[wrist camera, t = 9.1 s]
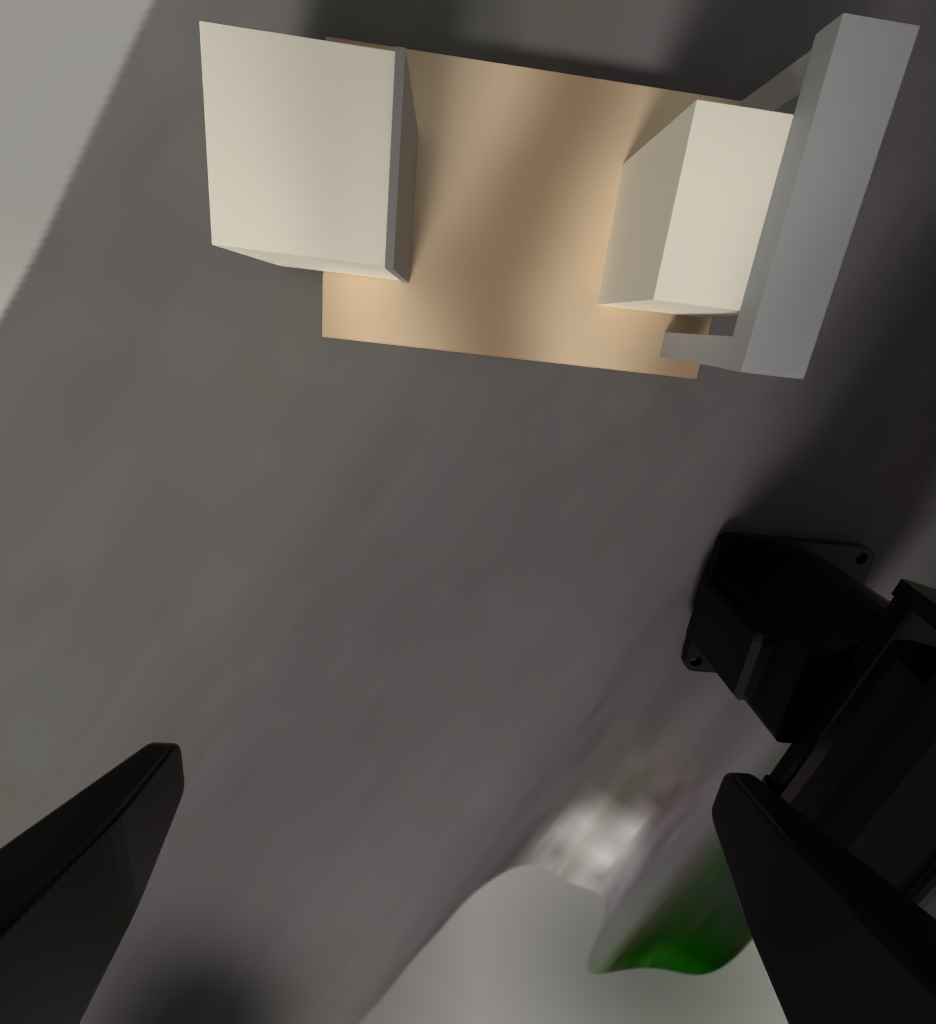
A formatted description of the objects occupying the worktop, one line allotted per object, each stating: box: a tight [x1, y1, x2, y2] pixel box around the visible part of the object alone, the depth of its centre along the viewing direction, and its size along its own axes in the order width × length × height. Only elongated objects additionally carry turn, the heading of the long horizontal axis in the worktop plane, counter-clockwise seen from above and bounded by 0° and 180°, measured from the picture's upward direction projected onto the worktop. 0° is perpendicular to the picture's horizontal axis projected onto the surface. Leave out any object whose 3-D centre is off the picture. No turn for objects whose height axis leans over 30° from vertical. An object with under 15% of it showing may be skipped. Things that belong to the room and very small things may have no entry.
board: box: [322, 36, 741, 379], centre depth 16 cm, size 13×8×1 cm, turn 84°
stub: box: [199, 21, 418, 283], centre depth 13 cm, size 4×4×5 cm
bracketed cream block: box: [597, 13, 920, 379], centre depth 14 cm, size 4×7×6 cm, turn 174°
